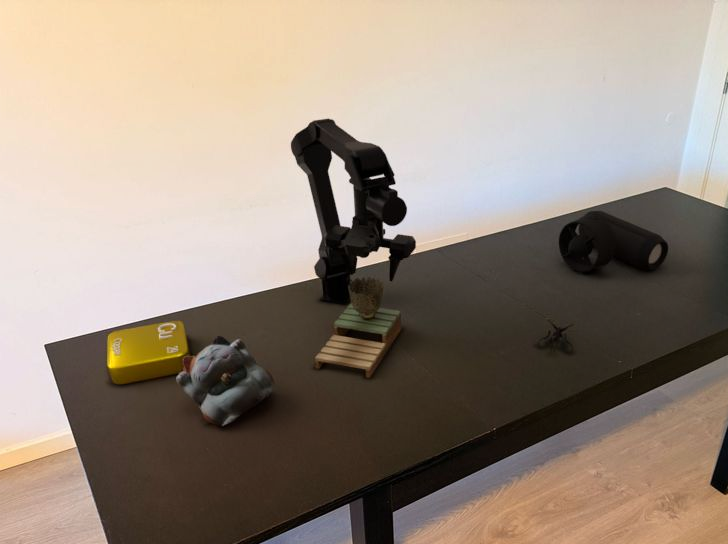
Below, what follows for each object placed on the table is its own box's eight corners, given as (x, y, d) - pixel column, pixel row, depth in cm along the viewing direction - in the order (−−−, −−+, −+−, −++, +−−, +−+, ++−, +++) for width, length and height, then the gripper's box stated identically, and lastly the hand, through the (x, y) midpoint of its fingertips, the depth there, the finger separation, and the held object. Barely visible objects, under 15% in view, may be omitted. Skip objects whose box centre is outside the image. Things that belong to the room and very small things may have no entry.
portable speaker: (666, 268, 179) (673, 234, 174) (642, 277, 174) (649, 242, 169) (597, 236, 196) (602, 205, 191) (574, 244, 191) (578, 211, 186)
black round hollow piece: (551, 216, 170) (576, 207, 176) (546, 266, 178) (570, 256, 184) (595, 233, 161) (620, 223, 167) (587, 285, 169) (611, 274, 175)
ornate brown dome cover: (378, 327, 140) (377, 294, 136) (345, 323, 141) (343, 290, 137) (388, 310, 146) (387, 278, 142) (356, 306, 147) (354, 275, 143)
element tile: (112, 348, 140) (106, 329, 137) (186, 335, 145) (182, 316, 142) (112, 387, 129) (105, 367, 126) (192, 371, 134) (187, 351, 131)
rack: (315, 368, 135) (313, 348, 133) (352, 321, 152) (350, 302, 149) (369, 378, 133) (368, 357, 130) (401, 329, 149) (400, 310, 146)
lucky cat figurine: (207, 437, 116) (165, 371, 112) (205, 421, 128) (166, 360, 123) (283, 394, 120) (244, 329, 116) (274, 382, 131) (239, 322, 127)
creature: (569, 362, 141) (576, 337, 147) (571, 344, 137) (579, 319, 143) (534, 355, 143) (542, 330, 149) (535, 337, 140) (543, 313, 145)
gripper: (309, 217, 129) (316, 287, 138) (398, 230, 125) (399, 301, 134) (333, 198, 138) (338, 265, 147) (416, 210, 134) (416, 277, 143)
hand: (371, 277), depth 142 cm, fingers open, 9 cm apart
